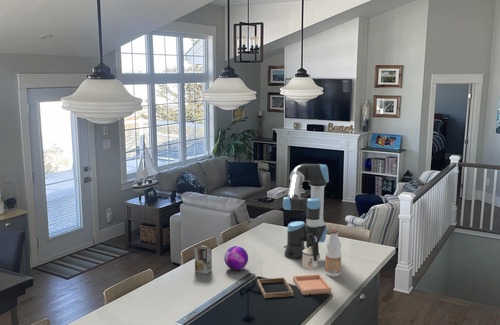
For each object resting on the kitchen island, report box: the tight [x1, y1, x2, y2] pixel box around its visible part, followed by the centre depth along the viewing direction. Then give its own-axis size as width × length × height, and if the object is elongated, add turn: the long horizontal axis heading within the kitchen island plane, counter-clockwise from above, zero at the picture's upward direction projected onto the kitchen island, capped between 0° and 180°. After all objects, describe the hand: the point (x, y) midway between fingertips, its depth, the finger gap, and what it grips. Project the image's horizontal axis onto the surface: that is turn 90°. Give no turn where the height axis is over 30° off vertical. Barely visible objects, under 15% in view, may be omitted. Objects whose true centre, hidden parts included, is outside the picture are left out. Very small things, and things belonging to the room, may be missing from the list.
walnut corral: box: [256, 277, 294, 299], centre depth 289 cm, size 21×17×2 cm
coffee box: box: [193, 244, 213, 275], centre depth 314 cm, size 9×6×16 cm
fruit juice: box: [324, 229, 342, 277], centre depth 310 cm, size 9×9×28 cm
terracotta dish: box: [292, 274, 332, 296], centre depth 293 cm, size 21×17×3 cm
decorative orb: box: [224, 245, 249, 271], centre depth 318 cm, size 15×15×15 cm
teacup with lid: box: [301, 247, 321, 270], centre depth 290 cm, size 12×9×12 cm
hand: (311, 262), depth 290 cm, fingers closed on teacup with lid, 9 cm apart
